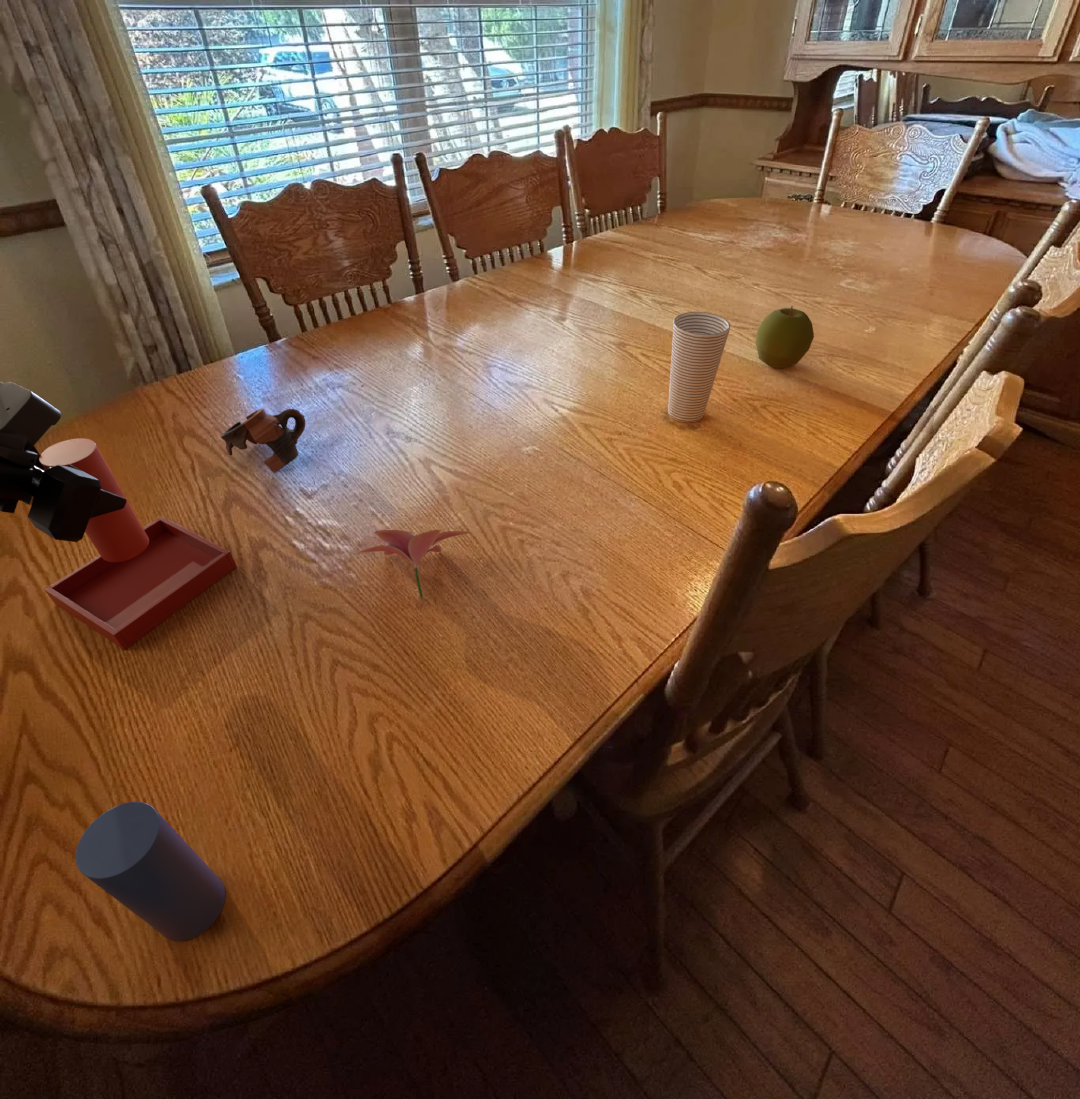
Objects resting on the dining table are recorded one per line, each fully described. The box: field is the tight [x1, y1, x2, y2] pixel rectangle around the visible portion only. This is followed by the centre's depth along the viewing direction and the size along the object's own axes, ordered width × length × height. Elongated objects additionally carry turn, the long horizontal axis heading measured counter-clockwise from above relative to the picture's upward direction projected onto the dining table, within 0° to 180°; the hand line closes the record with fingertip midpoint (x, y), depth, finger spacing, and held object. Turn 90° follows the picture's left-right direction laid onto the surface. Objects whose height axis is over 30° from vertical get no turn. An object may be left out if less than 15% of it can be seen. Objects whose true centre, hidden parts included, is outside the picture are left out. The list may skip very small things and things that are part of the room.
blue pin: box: [75, 801, 226, 942], centre depth 46 cm, size 5×5×13 cm
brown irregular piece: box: [220, 408, 306, 474], centre depth 95 cm, size 12×10×8 cm
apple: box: [754, 305, 815, 369], centre depth 115 cm, size 10×10×11 cm
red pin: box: [39, 437, 149, 562], centre depth 67 cm, size 5×5×13 cm
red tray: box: [43, 515, 238, 651], centre depth 75 cm, size 15×13×3 cm
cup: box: [667, 311, 731, 423], centre depth 100 cm, size 8×8×16 cm
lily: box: [357, 529, 471, 598], centre depth 75 cm, size 12×12×10 cm
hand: (110, 495), depth 68 cm, fingers closed on red pin, 5 cm apart
